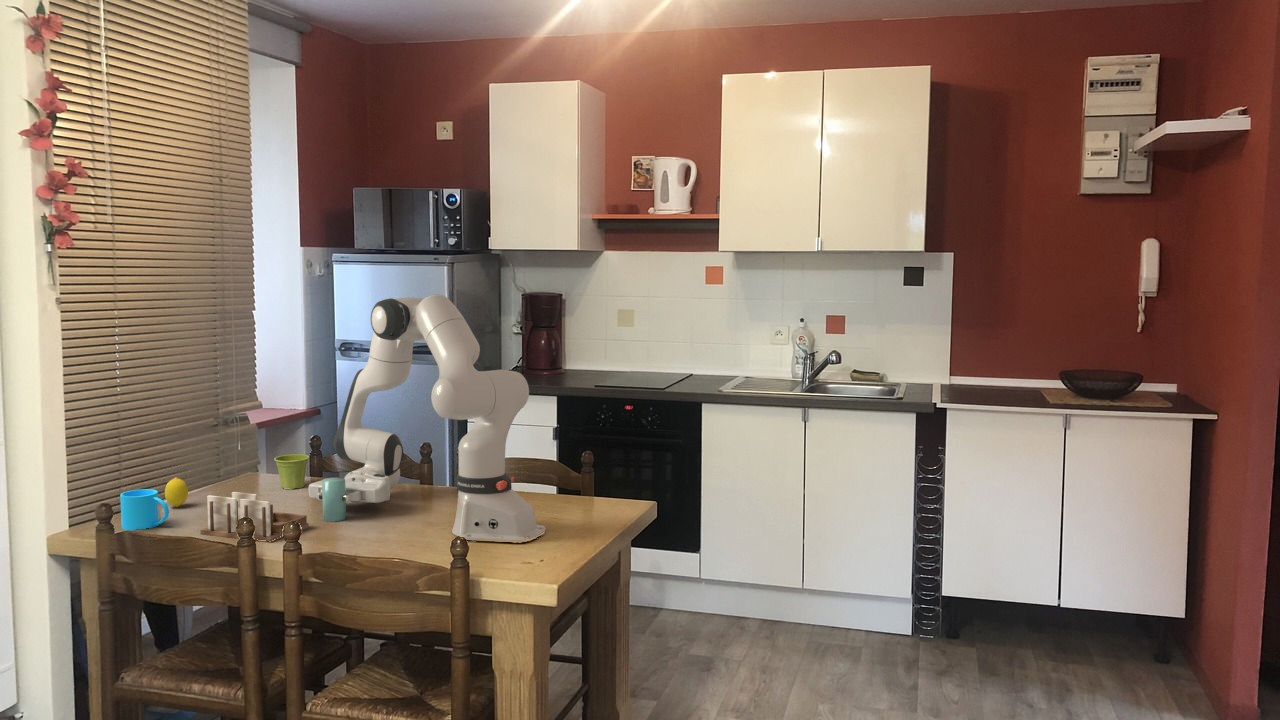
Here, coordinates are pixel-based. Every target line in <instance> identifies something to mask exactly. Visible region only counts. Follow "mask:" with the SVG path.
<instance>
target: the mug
mask: <svg viewBox="0 0 1280 720" xmlns="http://www.w3.org/2000/svg"><path fill="white" fill-rule="evenodd" d="M159 504H160V505H161V507H162V509H163V511H164V512H163V517H162V518H161V519H160V516H159ZM169 514H170V510H169V506H168V505H167V503H166V501H164V500H163V499H162V498H160V497H159V493H158V490H156V489H147V488H146V489H144V488H143V489H134V490H128V491H127V490H126V491H124V492H121V493H120V519H121V523H120V524H121V529H122V530H124V531H137V530H136V529H144V530H147V529H146V528H149V529H153V528H155V527H158V526H159V525H161V524H163V523H164V522H166V521H167V519H168V518H169Z"/></svg>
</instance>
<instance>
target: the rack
mask: <svg viewBox="0 0 1280 720" xmlns="http://www.w3.org/2000/svg"><path fill="white" fill-rule="evenodd" d="M206 501H207V503H206V505H207V527H205V528H202V529H200V530H199V531H200V535H206V536H213V537H222V538H230V539H237V540H239V539H238V536H237V533H236V525H237V522H238V520H239V519H241V518H243V517H249V518H251V519H252V520H253V522H254V524H255V534H254V538H255V540H257V539H258V540H266V541H272V540H274V539H277V538H280V536H281V539H283V538H282V529H283V526H284V525H285V524H286V523H287V522H289V521H297V522H298V523H300V525H301V527H302V529H303V530H305V529H308V528H309V527H310V526H309V523H308V517H307V515H306V514H298V513H289V512H283V511H282V512H280V511H275V512H274V506H273V504H271V502H270V501H265V500H258V493H257V494H256V493H246V492H238V491H233V492H231V497H227V496H218V495H217V496H216V495H209V494H208V495H207V496H206Z"/></svg>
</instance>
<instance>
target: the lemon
mask: <svg viewBox="0 0 1280 720" xmlns="http://www.w3.org/2000/svg"><path fill="white" fill-rule="evenodd" d="M188 495H189V489H188V484H187V483H186V482H185V481H184V480H183V479H181V478H178V477H176V476H175V477H174V478H172V479H170V480H169V481H168V482H167V484H166V485H165V488H164V497H165V500H166V502H167V503H168V504H170V505H172V506H173V507H175V508H179V507H180V506H181V505H183V504H184V503H185V502H187V499H188Z"/></svg>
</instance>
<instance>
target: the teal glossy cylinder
mask: <svg viewBox="0 0 1280 720" xmlns="http://www.w3.org/2000/svg"><path fill="white" fill-rule="evenodd" d="M344 478H345V477H327V478H323V479H322V499H323V500H322V521H324V522H327V521H328V523H329V522H330V523H334V522H335V521H337V522H342V521H345V520H346V519H347V502H343V501H342V499H343V498H342V496H343V495H344V494H346V487H345V479H344Z"/></svg>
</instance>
